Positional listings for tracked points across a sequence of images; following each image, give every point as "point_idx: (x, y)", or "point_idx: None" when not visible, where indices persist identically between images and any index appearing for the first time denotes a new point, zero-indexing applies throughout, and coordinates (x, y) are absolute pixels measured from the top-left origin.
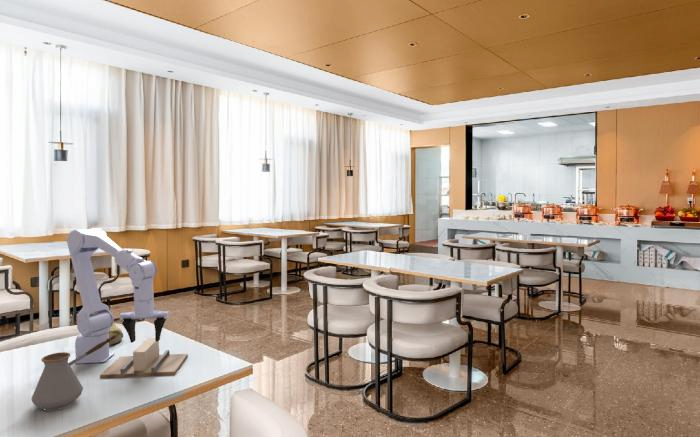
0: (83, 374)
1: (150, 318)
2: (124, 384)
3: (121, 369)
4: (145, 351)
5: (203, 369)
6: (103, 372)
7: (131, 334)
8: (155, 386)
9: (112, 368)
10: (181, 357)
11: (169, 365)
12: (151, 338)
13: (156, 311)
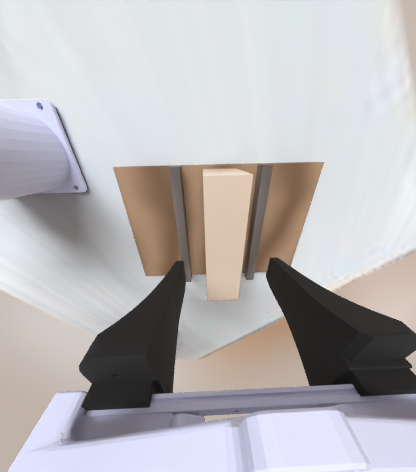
0: (98, 253)
1: (297, 395)
2: (206, 292)
3: (186, 281)
4: (238, 295)
5: (341, 248)
6: (145, 266)
7: (180, 312)
8: (258, 299)
9: (150, 250)
10: (303, 194)
11: (275, 243)
12: (221, 181)
13: (410, 455)
